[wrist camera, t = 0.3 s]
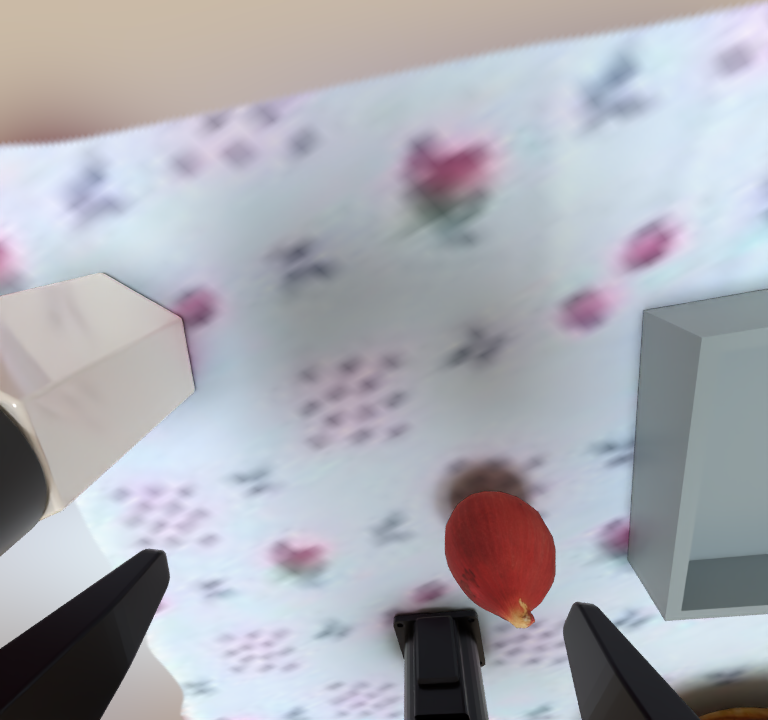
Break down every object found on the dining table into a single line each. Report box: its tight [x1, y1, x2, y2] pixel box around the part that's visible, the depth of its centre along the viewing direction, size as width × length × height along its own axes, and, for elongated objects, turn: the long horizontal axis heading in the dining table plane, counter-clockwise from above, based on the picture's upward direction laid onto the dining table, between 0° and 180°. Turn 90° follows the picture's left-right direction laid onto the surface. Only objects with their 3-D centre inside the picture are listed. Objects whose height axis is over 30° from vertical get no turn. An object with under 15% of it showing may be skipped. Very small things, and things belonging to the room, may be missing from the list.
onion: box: [445, 491, 555, 628], centre depth 20 cm, size 6×6×8 cm
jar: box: [0, 273, 195, 556], centre depth 16 cm, size 9×8×12 cm
